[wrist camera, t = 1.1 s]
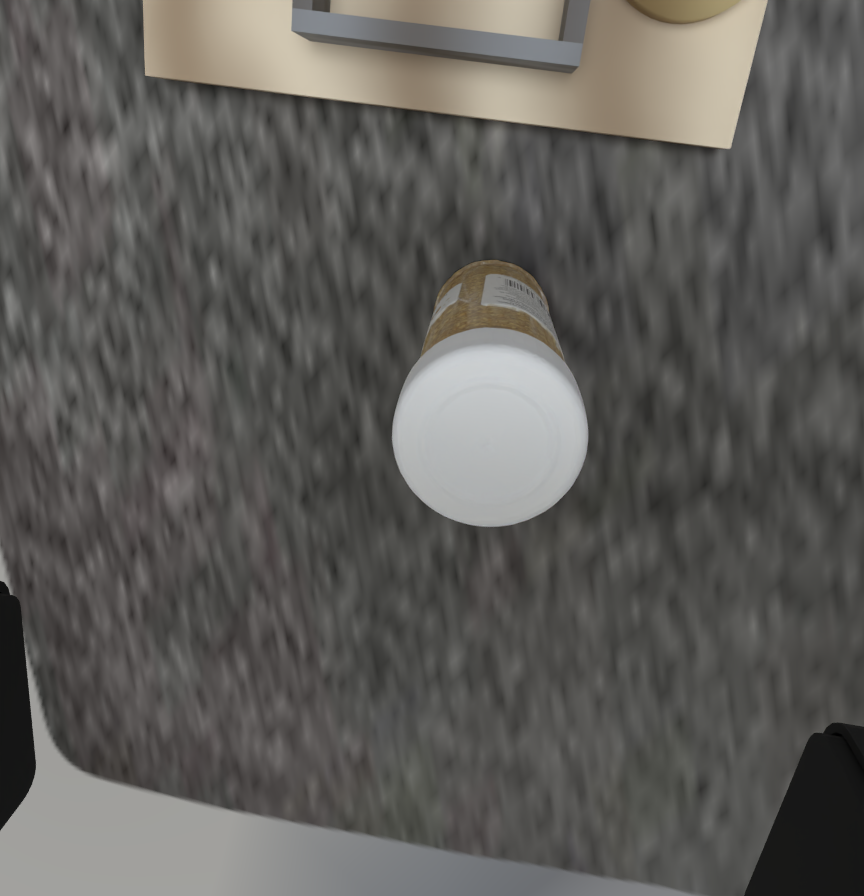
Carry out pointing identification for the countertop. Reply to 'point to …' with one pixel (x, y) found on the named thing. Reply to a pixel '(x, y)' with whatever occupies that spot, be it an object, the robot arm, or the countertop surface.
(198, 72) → the board
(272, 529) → the countertop surface
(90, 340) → the countertop surface
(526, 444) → the sprinkles bottle
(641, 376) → the countertop surface
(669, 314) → the countertop surface
